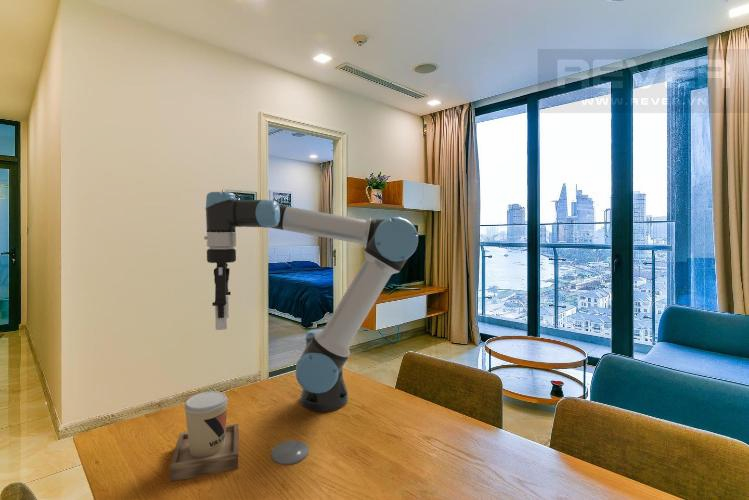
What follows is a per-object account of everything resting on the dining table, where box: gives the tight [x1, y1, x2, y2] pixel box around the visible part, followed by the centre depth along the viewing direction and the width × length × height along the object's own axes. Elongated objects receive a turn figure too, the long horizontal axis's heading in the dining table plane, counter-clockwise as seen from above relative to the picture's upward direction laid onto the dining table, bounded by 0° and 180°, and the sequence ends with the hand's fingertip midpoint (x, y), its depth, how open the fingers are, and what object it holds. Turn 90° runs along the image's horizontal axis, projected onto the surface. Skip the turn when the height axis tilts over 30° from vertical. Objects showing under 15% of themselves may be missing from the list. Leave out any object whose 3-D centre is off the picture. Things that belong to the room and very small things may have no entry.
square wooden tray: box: [168, 423, 240, 483], centre depth 89 cm, size 14×14×4 cm
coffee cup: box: [184, 390, 229, 457], centre depth 89 cm, size 9×9×12 cm
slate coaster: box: [270, 440, 309, 466], centre depth 91 cm, size 9×9×1 cm
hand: (222, 323), depth 104 cm, fingers open, 13 cm apart
